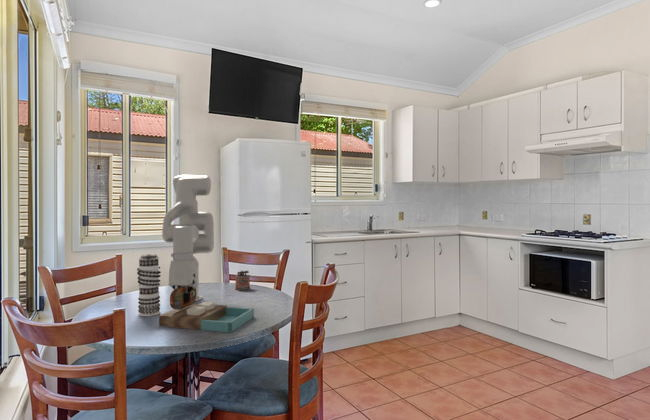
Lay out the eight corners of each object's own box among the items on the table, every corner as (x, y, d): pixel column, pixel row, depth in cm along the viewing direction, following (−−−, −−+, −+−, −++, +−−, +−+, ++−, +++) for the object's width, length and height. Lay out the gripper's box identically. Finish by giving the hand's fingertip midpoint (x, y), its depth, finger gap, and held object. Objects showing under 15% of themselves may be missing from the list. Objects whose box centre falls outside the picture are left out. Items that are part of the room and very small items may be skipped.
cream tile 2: (196, 309, 164) (196, 304, 164) (203, 306, 169) (203, 301, 169) (208, 310, 163) (208, 305, 163) (214, 307, 168) (214, 302, 168)
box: (201, 329, 152) (201, 320, 152) (226, 315, 171) (226, 306, 171) (230, 332, 149) (230, 322, 149) (253, 317, 168) (253, 308, 168)
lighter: (236, 290, 218) (236, 271, 218) (234, 289, 221) (234, 270, 221) (250, 289, 222) (250, 270, 222) (248, 287, 225) (248, 269, 225)
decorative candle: (137, 311, 176) (137, 253, 175) (160, 309, 179) (160, 252, 179) (136, 317, 167) (136, 256, 167) (161, 315, 171) (161, 255, 170)
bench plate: (158, 325, 156) (158, 315, 156) (188, 312, 175) (188, 302, 175) (201, 329, 152) (201, 319, 152) (226, 315, 171) (226, 305, 171)
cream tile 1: (186, 314, 158) (186, 309, 157) (194, 311, 162) (194, 306, 162) (198, 315, 156) (198, 310, 156) (205, 311, 161) (205, 306, 161)
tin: (174, 312, 157) (175, 290, 157) (167, 311, 158) (168, 289, 158) (196, 302, 172) (197, 283, 171) (189, 302, 172) (191, 282, 172)
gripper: (159, 257, 163) (159, 303, 163) (195, 258, 159) (196, 306, 159) (171, 254, 170) (171, 299, 170) (206, 256, 166) (206, 301, 166)
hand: (183, 302), depth 165 cm, fingers closed on tin, 2 cm apart
